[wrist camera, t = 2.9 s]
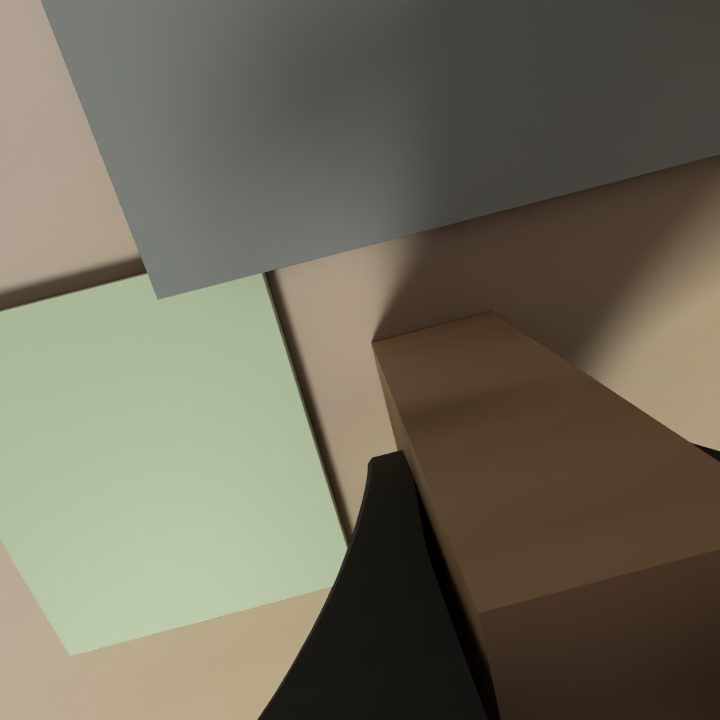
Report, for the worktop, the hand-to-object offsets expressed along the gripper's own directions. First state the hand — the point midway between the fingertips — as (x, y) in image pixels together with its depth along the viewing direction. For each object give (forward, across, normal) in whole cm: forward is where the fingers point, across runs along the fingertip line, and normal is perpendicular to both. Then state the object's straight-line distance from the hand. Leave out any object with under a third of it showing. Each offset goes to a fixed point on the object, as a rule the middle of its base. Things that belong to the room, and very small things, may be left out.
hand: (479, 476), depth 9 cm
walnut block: (+2, 0, 0) cm, 2 cm away
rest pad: (+2, +6, -1) cm, 7 cm away
